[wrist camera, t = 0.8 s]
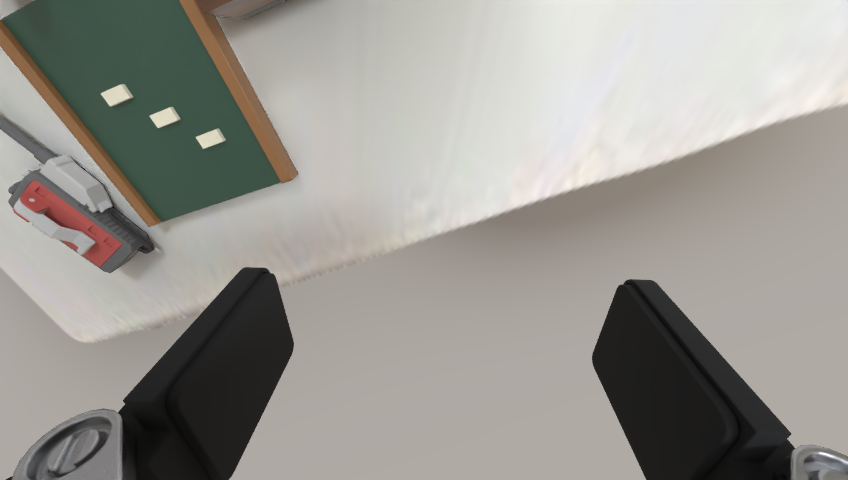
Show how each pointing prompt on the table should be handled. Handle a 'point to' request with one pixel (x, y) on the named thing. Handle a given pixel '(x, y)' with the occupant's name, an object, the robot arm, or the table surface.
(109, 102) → the chalk mark
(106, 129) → the chalkboard
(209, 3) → the eraser
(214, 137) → the chalk mark
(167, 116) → the chalk mark
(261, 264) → the table surface
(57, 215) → the toy chainsaw
